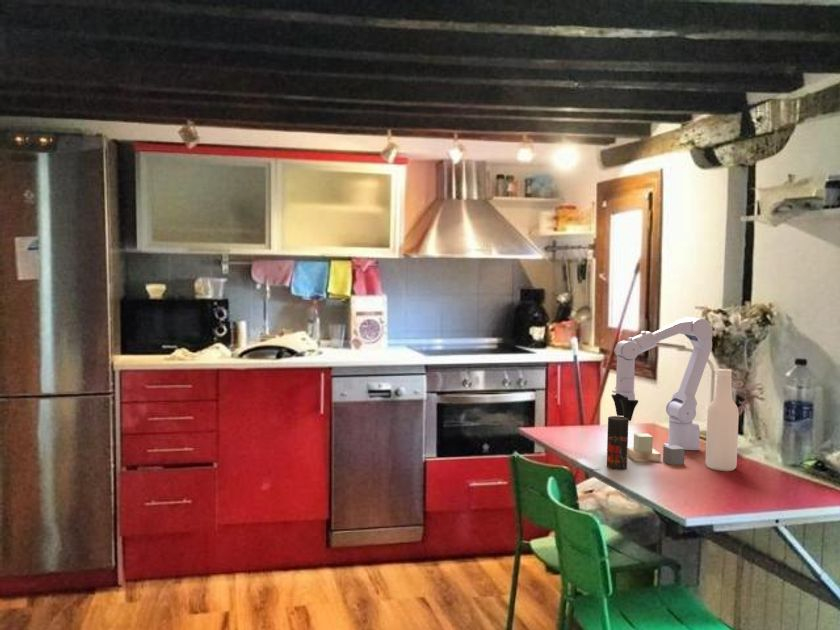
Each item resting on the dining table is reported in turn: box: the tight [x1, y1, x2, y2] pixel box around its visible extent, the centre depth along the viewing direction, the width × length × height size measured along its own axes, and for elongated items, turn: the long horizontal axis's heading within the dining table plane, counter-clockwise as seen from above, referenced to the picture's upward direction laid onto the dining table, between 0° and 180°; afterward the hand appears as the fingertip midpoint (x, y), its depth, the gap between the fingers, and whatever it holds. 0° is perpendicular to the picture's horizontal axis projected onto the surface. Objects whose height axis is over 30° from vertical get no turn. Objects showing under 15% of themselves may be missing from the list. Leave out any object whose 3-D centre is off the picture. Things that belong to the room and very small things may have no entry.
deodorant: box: [606, 415, 629, 471], centre depth 229 cm, size 6×6×15 cm
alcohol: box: [704, 368, 740, 472], centre depth 230 cm, size 9×9×30 cm
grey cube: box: [662, 445, 686, 466], centre depth 236 cm, size 4×4×5 cm
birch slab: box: [627, 447, 662, 462], centre depth 241 cm, size 8×8×2 cm
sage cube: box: [633, 433, 654, 452], centre depth 241 cm, size 4×4×5 cm
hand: (623, 418), depth 252 cm, fingers open, 7 cm apart
